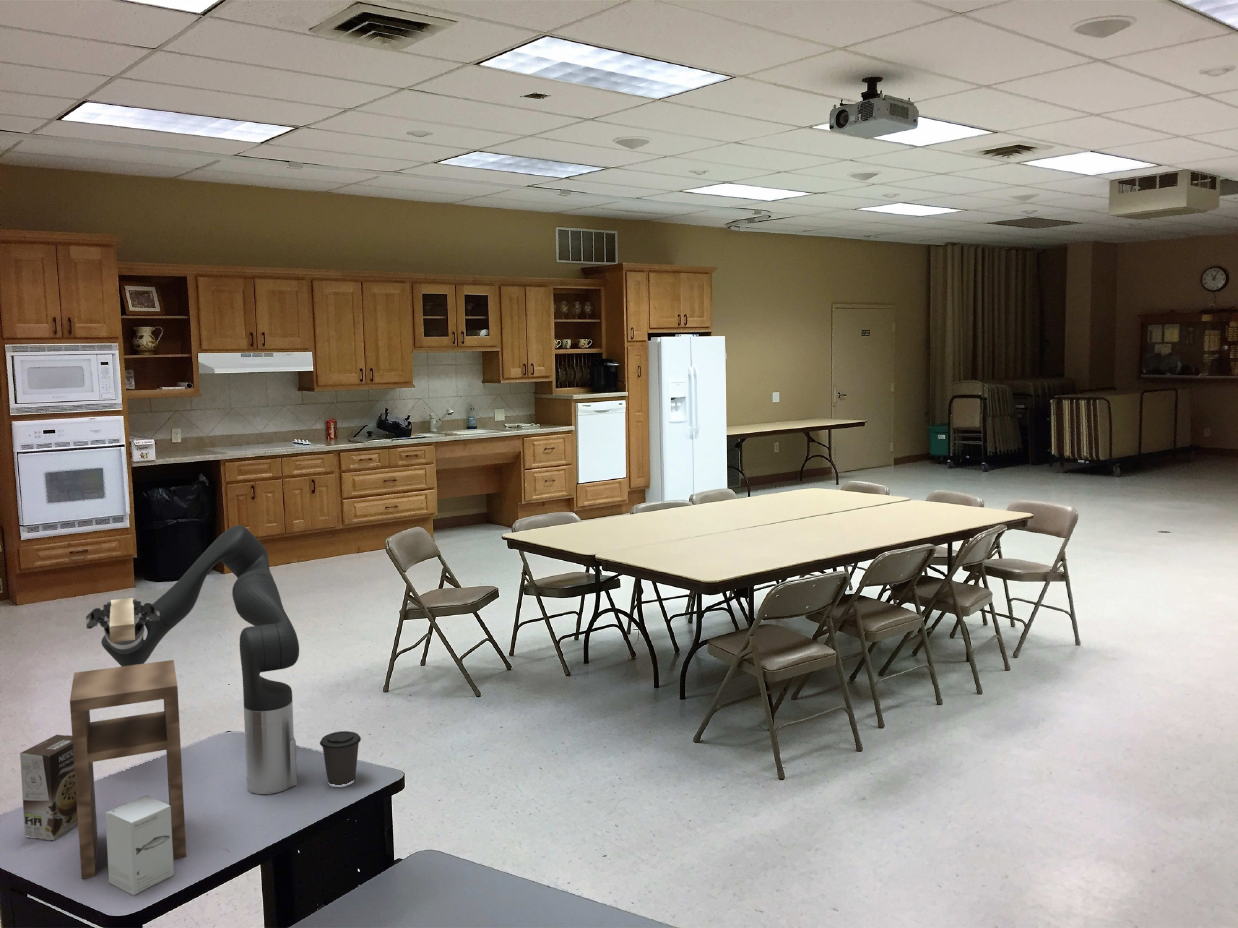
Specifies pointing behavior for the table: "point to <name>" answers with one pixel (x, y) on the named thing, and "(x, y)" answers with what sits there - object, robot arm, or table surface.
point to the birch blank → (122, 620)
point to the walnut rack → (124, 740)
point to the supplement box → (139, 844)
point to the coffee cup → (340, 756)
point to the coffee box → (49, 788)
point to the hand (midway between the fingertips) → (121, 605)
